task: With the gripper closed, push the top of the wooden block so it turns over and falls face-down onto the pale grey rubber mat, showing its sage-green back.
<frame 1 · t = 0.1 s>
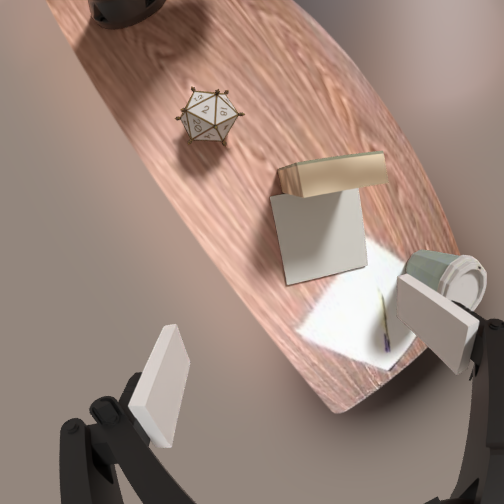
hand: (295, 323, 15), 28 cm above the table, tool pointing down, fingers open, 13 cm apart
disposable coffee cup: (416, 265, 45), on the table
wooden block: (311, 174, 40), on the table
mat: (322, 232, 42), on the table
game die: (211, 122, 38), on the table
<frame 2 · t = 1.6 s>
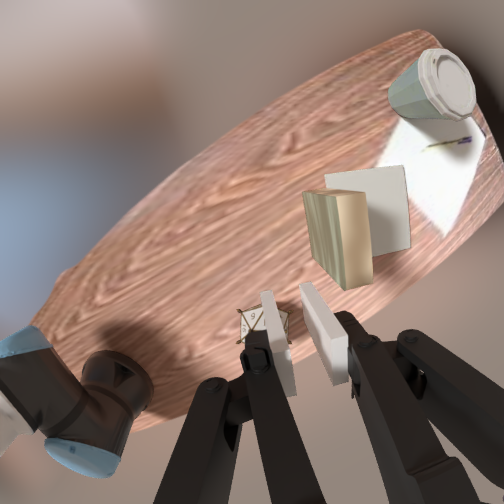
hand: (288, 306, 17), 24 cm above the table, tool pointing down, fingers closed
disposable coffee cup: (401, 102, 36), on the table
wooden block: (318, 222, 41), on the table
mat: (371, 213, 41), on the table
game die: (262, 314, 44), on the table
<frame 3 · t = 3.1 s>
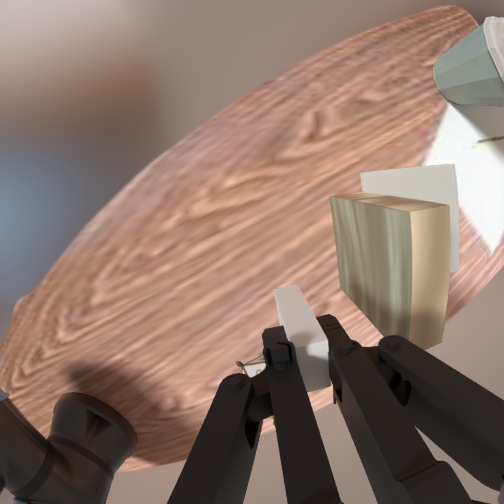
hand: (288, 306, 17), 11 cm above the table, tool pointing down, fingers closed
disposable coffee cup: (447, 84, 24), on the table
wooden block: (351, 240, 28), on the table
mat: (417, 226, 28), on the table
game die: (270, 362, 32), on the table
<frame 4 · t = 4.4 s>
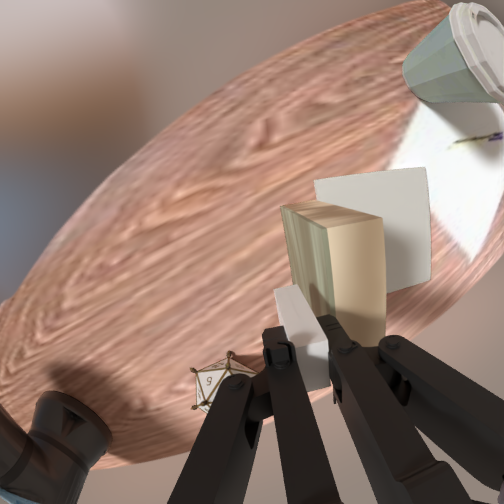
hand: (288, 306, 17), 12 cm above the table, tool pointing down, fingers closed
disposable coffee cup: (420, 81, 24), on the table
wooden block: (305, 250, 29), on the table
mat: (381, 234, 29), on the table
game die: (228, 369, 32), on the table
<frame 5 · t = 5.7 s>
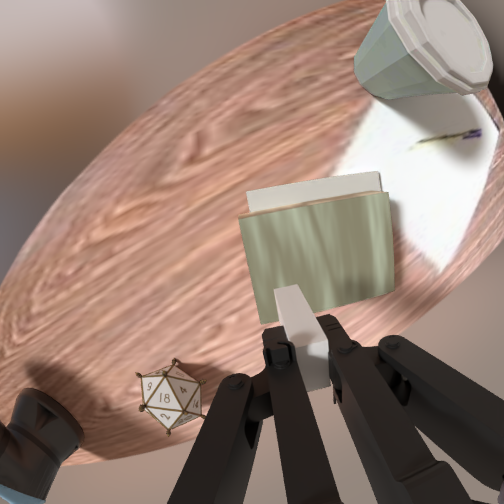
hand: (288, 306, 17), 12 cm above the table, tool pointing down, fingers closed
disposable coffee cup: (376, 76, 24), on the table
wooden block: (249, 269, 26), point 2 cm above the table, tilted 90°, touching mat
mat: (325, 246, 28), on the table
game die: (176, 375, 32), on the table
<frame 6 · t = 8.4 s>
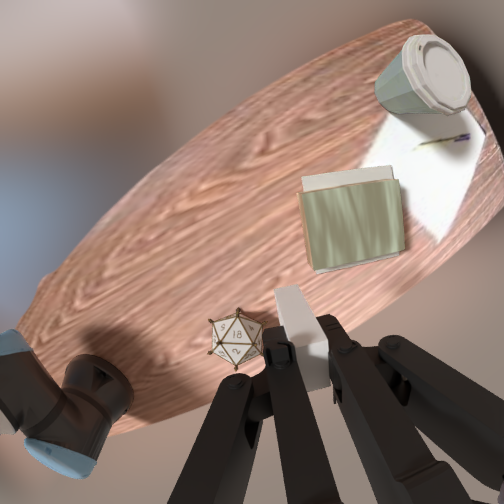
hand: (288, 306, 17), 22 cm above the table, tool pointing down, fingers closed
disposable coffee cup: (390, 96, 34), on the table
wooden block: (305, 231, 36), point 2 cm above the table, tilted 90°, touching mat
mat: (354, 217, 38), on the table
game die: (237, 324, 42), on the table
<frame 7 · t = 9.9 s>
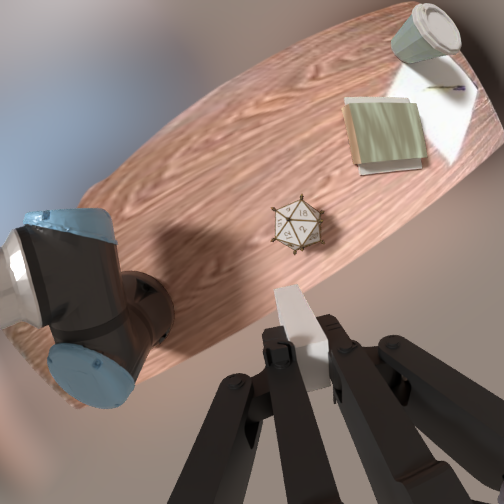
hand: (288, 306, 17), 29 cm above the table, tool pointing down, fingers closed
disposable coffee cup: (402, 51, 38), on the table
wooden block: (351, 134, 40), point 2 cm above the table, tilted 90°, touching mat
mat: (385, 133, 42), on the table
game die: (293, 221, 46), on the table
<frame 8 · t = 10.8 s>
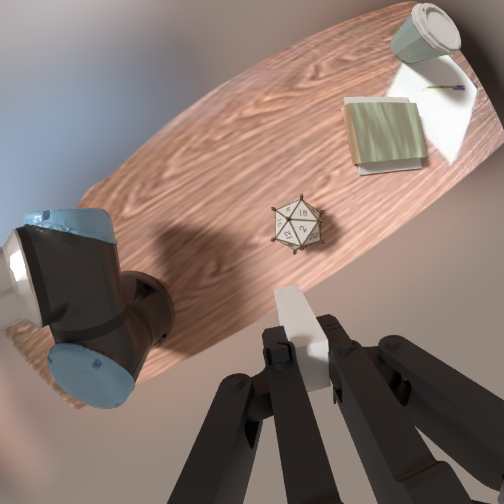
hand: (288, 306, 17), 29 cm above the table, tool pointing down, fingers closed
disposable coffee cup: (402, 51, 38), on the table
wooden block: (351, 134, 40), point 2 cm above the table, tilted 90°, touching mat
mat: (385, 133, 42), on the table
game die: (293, 221, 46), on the table
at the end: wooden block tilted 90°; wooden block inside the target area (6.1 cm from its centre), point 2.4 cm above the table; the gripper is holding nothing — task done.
